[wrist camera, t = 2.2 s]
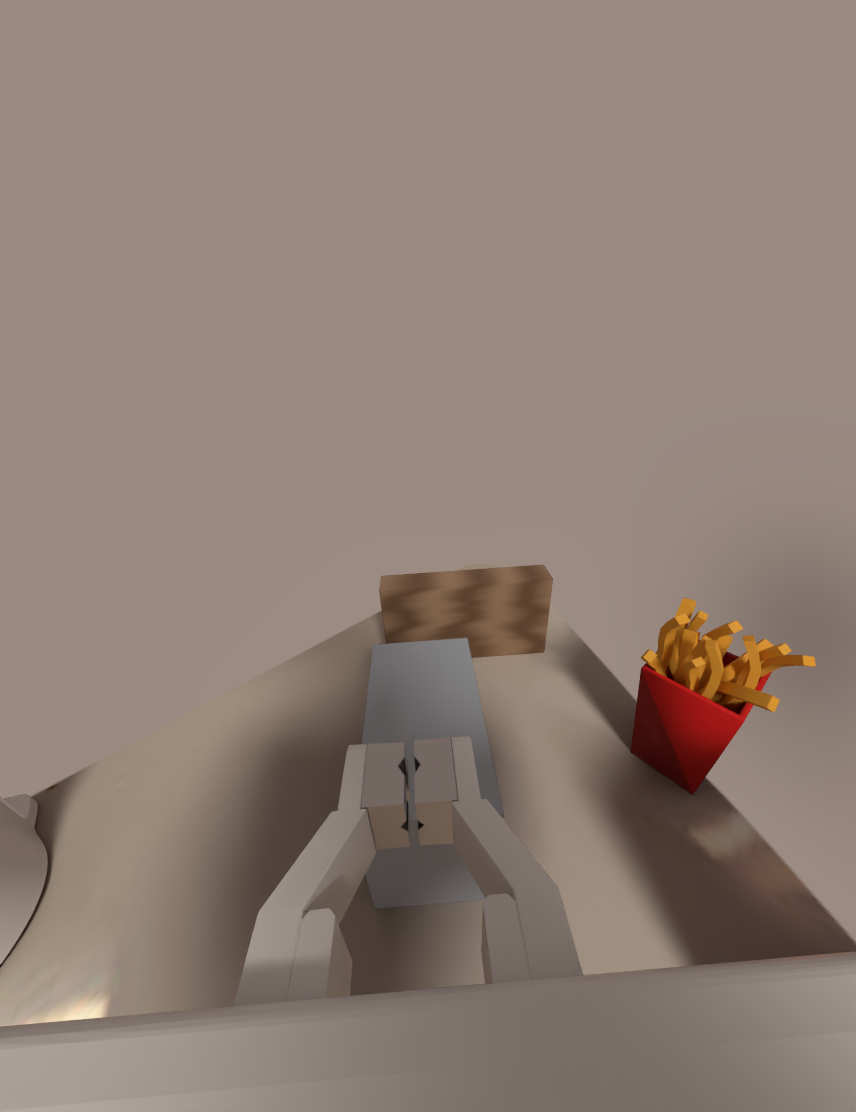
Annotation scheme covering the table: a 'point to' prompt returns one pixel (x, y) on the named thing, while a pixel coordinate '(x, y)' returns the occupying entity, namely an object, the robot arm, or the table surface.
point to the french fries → (700, 694)
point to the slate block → (404, 716)
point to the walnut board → (470, 608)
